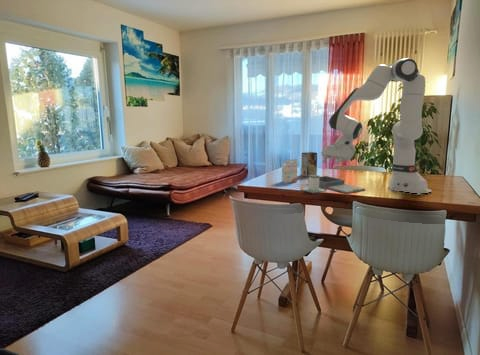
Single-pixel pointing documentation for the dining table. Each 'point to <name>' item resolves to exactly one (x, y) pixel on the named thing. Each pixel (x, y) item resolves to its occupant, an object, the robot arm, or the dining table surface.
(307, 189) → the pad
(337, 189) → the equipment case
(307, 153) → the coffee box
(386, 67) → the robot arm
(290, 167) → the ink cartridge box
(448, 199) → the dining table surface
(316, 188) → the block
